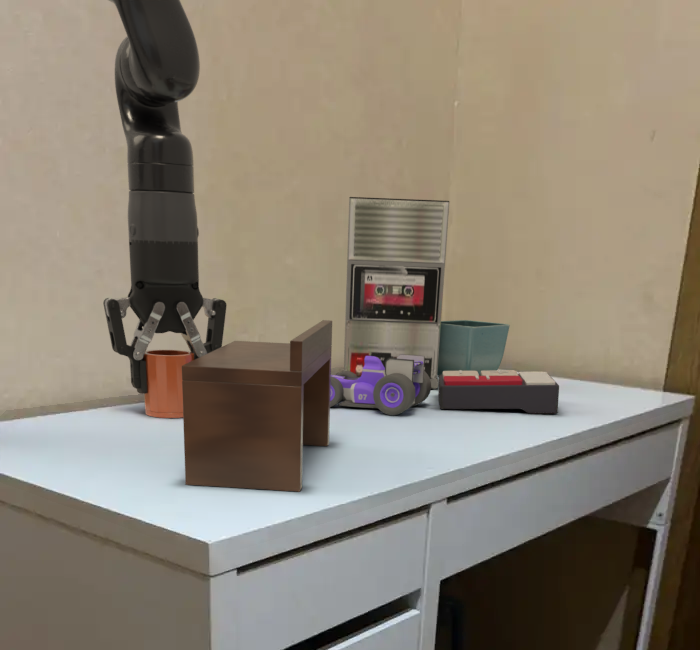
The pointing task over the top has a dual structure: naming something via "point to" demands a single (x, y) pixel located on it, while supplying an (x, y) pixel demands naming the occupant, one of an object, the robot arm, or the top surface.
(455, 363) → the flower pot
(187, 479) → the brown wooden bench
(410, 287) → the cassette tape recorder
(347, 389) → the toy race car
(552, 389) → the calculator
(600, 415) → the top surface
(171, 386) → the pot
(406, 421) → the top surface
